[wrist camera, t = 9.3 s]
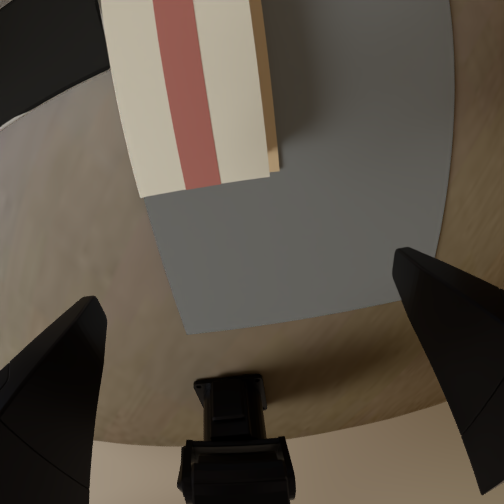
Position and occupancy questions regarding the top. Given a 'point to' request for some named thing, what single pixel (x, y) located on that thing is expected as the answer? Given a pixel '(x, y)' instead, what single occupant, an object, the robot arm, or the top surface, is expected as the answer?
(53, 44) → the smartphone
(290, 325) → the top surface
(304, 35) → the mat
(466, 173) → the top surface
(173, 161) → the card box
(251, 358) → the top surface
